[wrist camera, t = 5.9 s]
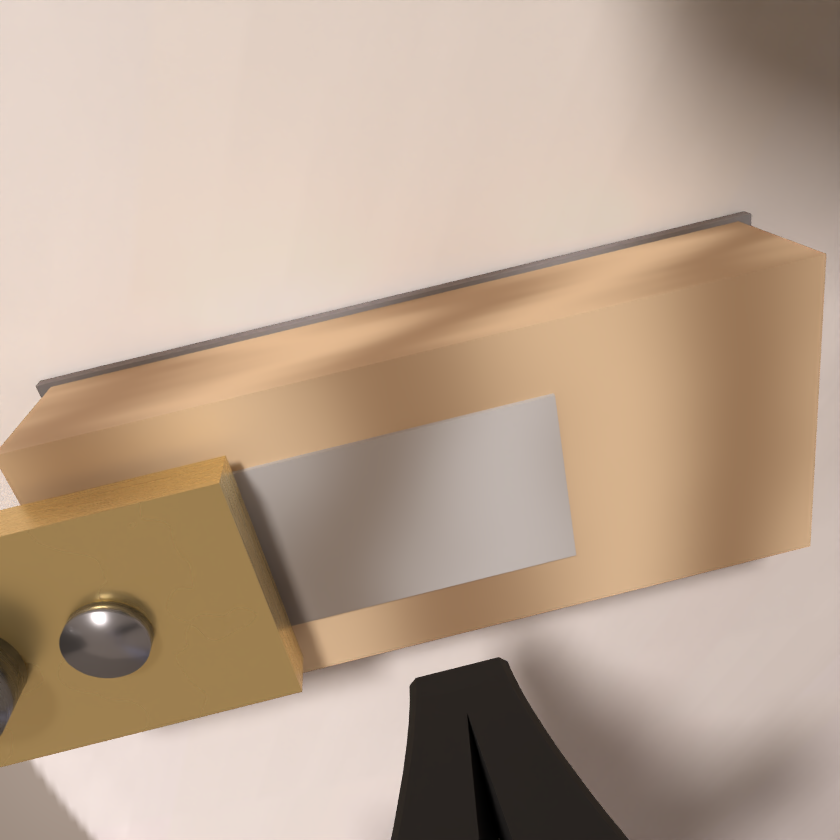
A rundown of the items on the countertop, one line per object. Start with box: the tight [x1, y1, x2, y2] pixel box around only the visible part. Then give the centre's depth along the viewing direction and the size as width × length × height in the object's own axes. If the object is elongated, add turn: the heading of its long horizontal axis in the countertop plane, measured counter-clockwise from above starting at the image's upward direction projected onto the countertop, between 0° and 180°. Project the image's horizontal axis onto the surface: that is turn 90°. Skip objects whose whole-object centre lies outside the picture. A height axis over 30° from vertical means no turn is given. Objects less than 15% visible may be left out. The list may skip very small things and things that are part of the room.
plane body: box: [0, 212, 826, 673], centre depth 17 cm, size 17×7×4 cm, turn 102°
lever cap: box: [0, 455, 303, 767], centre depth 14 cm, size 7×5×2 cm
